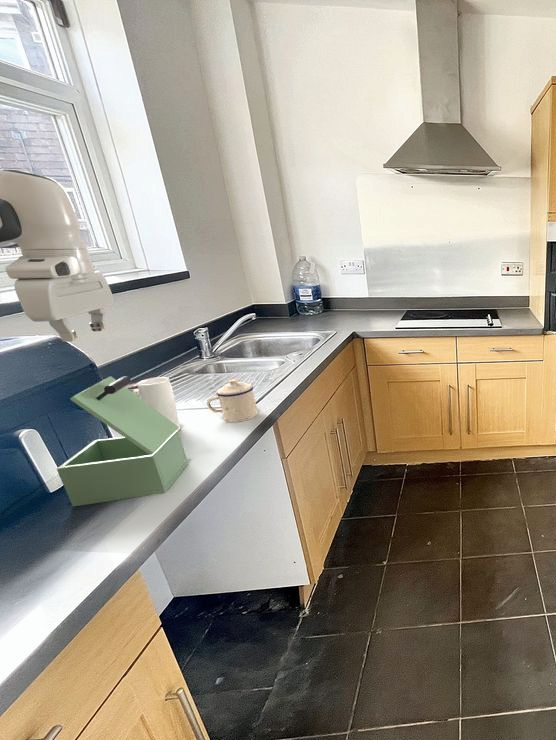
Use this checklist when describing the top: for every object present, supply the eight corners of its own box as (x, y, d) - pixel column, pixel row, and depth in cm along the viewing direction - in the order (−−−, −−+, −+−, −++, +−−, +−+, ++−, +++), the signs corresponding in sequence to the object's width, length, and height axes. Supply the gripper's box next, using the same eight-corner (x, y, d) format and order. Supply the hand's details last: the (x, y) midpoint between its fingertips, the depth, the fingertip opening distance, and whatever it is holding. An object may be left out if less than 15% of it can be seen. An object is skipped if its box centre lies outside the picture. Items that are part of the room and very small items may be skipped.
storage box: (72, 506, 83) (56, 468, 80) (108, 474, 94) (94, 439, 92) (165, 492, 88) (152, 456, 85) (188, 463, 99) (178, 430, 96)
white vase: (152, 431, 115) (135, 380, 110) (182, 424, 120) (167, 375, 114) (154, 439, 111) (136, 387, 105) (185, 431, 115) (170, 381, 110)
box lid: (69, 399, 77) (90, 383, 78) (107, 378, 89) (126, 364, 89) (150, 455, 85) (169, 440, 85) (176, 429, 96) (193, 416, 96)
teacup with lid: (259, 408, 130) (251, 373, 126) (258, 419, 123) (250, 382, 119) (213, 416, 125) (203, 379, 121) (209, 427, 117) (199, 389, 113)
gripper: (75, 262, 88) (97, 326, 93) (-4, 269, 70) (28, 348, 74) (111, 261, 90) (131, 324, 94) (44, 268, 71) (72, 346, 76)
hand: (85, 335), depth 84 cm, fingers open, 8 cm apart
